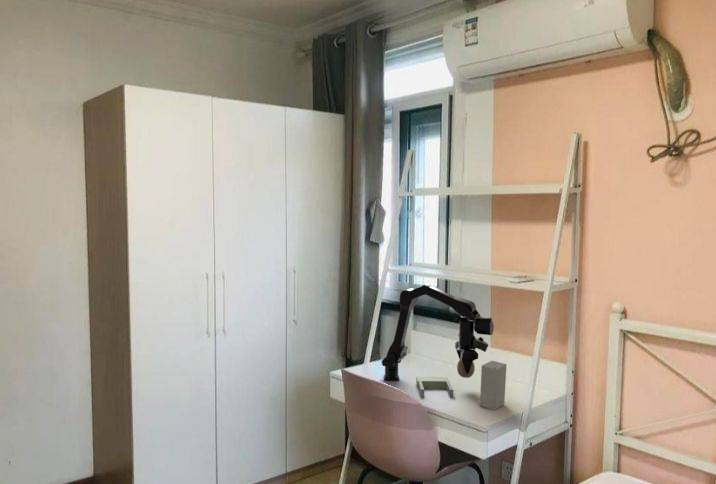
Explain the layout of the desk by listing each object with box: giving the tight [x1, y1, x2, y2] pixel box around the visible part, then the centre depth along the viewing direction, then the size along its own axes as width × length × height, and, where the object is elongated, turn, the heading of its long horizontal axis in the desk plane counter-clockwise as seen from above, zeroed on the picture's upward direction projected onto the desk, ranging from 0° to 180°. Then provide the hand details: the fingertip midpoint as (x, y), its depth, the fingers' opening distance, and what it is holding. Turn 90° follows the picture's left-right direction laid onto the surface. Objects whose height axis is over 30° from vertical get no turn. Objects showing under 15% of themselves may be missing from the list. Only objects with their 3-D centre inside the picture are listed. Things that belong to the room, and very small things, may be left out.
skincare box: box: [479, 360, 507, 411], centre depth 211 cm, size 8×7×16 cm
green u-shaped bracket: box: [415, 376, 454, 398], centre depth 229 cm, size 17×13×3 cm
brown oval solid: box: [456, 359, 476, 379], centre depth 229 cm, size 7×7×9 cm
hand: (465, 370), depth 229 cm, fingers closed on brown oval solid, 7 cm apart
